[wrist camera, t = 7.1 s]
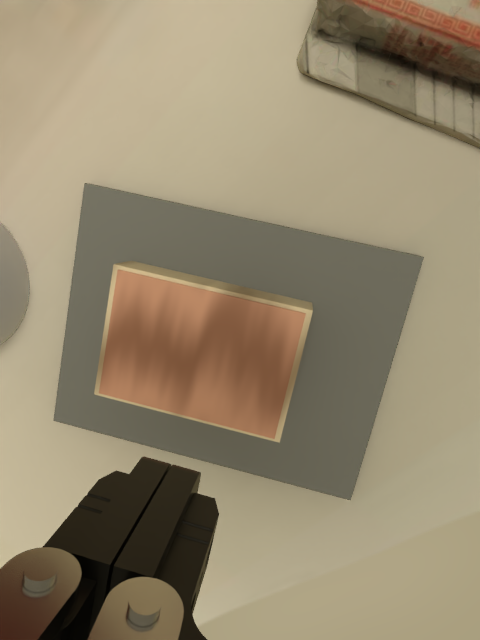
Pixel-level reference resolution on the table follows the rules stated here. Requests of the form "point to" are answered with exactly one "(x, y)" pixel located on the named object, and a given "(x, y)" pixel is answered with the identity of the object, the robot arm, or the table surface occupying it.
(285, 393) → the birch tile
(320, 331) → the mat
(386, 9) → the packaged product
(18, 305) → the wedge on round base
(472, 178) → the table surface
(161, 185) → the table surface
